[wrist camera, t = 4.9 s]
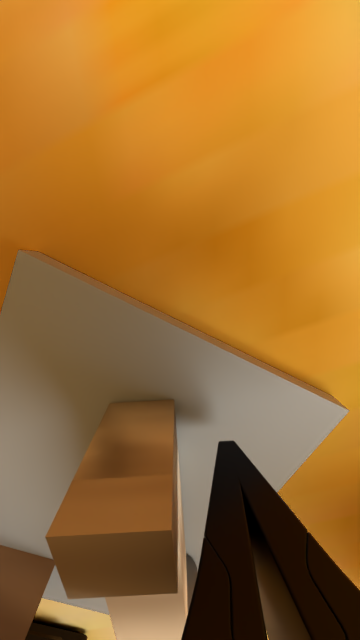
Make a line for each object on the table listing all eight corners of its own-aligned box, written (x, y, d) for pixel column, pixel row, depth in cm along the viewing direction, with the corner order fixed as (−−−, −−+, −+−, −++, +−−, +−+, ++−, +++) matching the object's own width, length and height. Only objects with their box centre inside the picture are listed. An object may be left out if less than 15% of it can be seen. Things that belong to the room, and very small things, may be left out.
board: (159, 603, 15) (158, 626, 14) (-54, 546, 13) (-73, 569, 12) (332, 396, 10) (349, 410, 9) (37, 251, 8) (18, 249, 7)
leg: (198, 589, 13) (208, 755, 8) (134, 592, 13) (112, 760, 8) (188, 398, 9) (198, 528, 4) (95, 403, 9) (18, 538, 4)
